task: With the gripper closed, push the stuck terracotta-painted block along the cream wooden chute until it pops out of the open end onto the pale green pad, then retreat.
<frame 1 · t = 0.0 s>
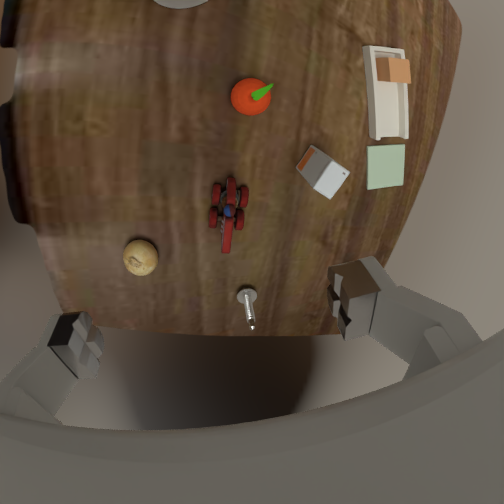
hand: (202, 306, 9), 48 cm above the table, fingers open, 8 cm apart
onion: (143, 250, 62), on the table
pad: (385, 165, 58), on the table
chute: (383, 92, 48), on the table
clementine: (250, 94, 47), on the table
block: (391, 70, 42), point 4 cm above the table, slide at 0.0 cm
toy fire truck: (227, 202, 59), on the table
screw: (246, 290, 72), on the table
skincare box: (310, 160, 56), on the table
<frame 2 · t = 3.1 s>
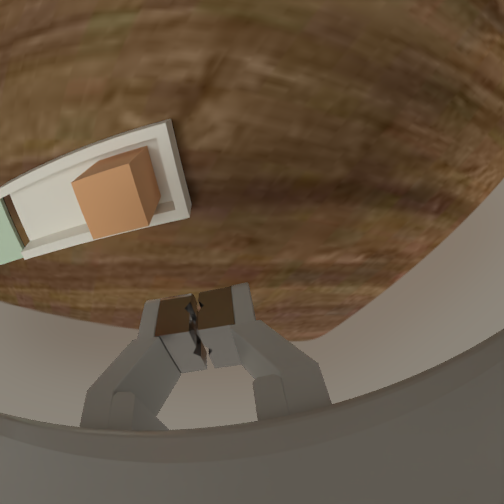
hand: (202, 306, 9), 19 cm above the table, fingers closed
chute: (87, 189, 24), on the table
block: (119, 189, 22), point 4 cm above the table, slide at 0.0 cm
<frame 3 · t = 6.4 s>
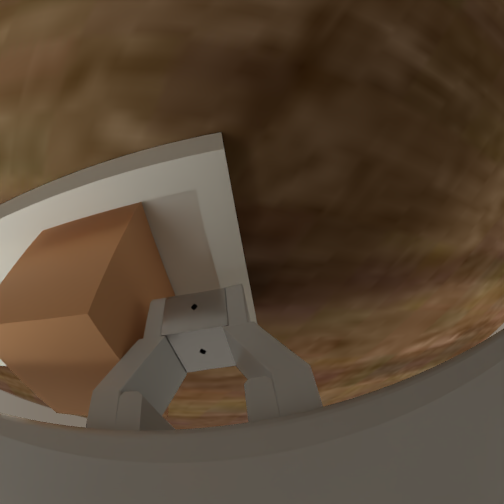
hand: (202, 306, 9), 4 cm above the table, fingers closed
chute: (50, 270, 12), on the table
block: (88, 312, 9), point 4 cm above the table, slide at 1.0 cm, touching gripper
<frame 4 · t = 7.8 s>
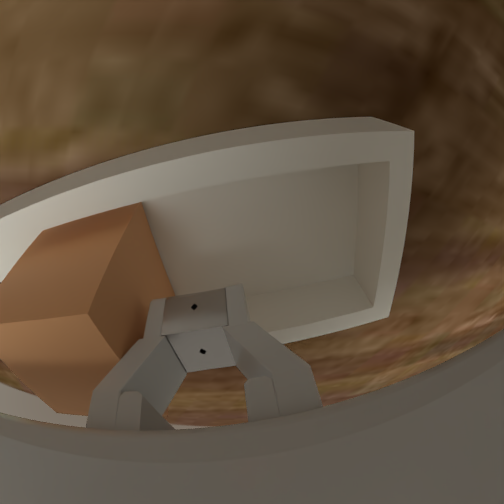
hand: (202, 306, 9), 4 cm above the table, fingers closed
chute: (153, 247, 12), on the table
block: (88, 312, 9), point 4 cm above the table, slide at 7.1 cm, touching gripper
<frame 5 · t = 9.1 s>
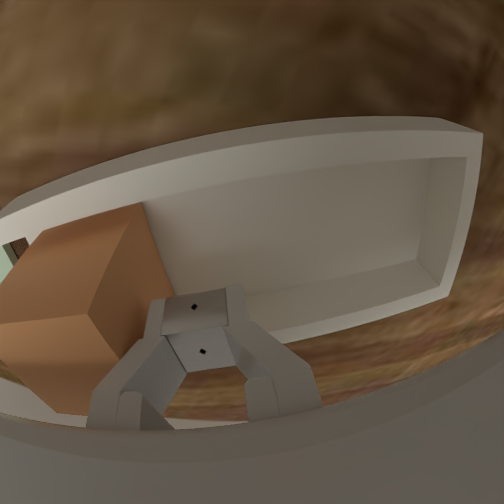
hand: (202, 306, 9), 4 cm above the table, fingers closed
chute: (240, 230, 12), on the table
block: (88, 312, 9), point 4 cm above the table, slide at 11.0 cm, touching gripper
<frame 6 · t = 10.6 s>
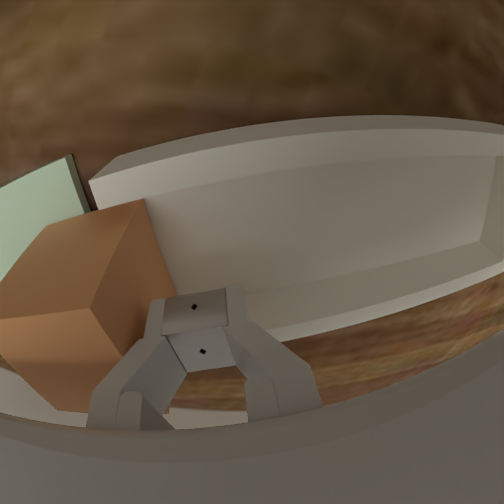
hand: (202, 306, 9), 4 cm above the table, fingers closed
pad: (36, 271, 12), on the table
chute: (364, 206, 12), on the table
block: (89, 309, 9), point 4 cm above the table, slide at 16.7 cm, touching gripper
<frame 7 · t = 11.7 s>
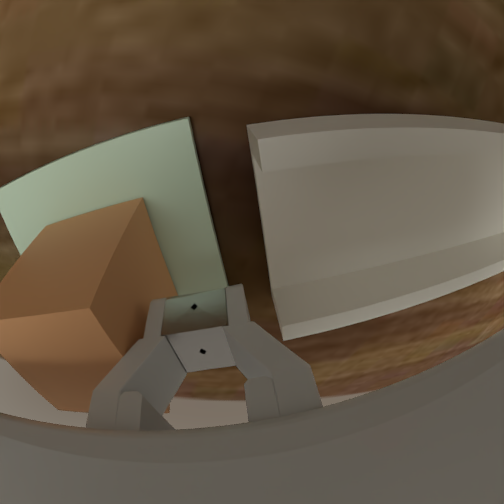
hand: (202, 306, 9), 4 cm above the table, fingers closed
pad: (111, 253, 12), on the table
chute: (444, 194, 13), on the table
block: (90, 308, 9), point 4 cm above the table, slide at 21.9 cm, touching gripper
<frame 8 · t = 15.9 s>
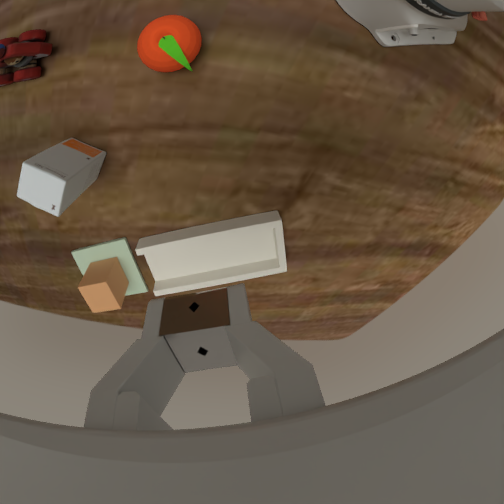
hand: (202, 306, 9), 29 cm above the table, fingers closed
pad: (109, 270, 41), on the table
chute: (212, 249, 42), on the table
clementine: (176, 50, 27), on the table
block: (104, 284, 38), point 4 cm above the table, slide at 21.9 cm
toy fire truck: (25, 58, 22), on the table
skincare box: (84, 157, 32), on the table
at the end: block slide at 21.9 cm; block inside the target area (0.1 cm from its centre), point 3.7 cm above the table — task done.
